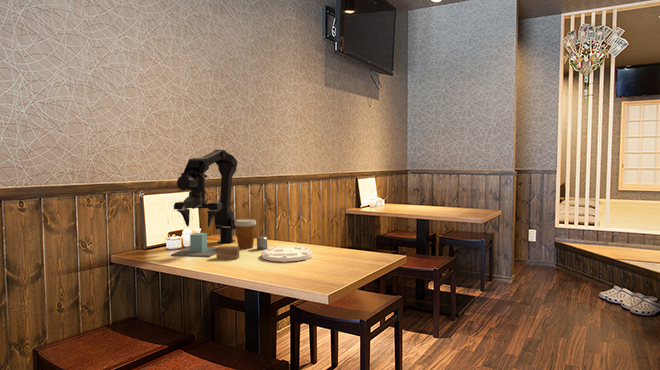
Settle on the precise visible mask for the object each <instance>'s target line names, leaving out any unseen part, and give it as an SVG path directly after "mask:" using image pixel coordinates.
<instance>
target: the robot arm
mask: <svg viewBox="0 0 660 370" xmlns="http://www.w3.org/2000/svg"><path fill="white" fill-rule="evenodd" d="M187 161H188V162H186V163H187V164H186V166H185V167H184V170H183V172H181V173H180V176H179V177H178V178H177V181H176V186H177V188H178V189H179V190H180V191H189V192H188V196H187V197H186V198H184V199H183V201H178V202H177V201H176V202H175V203H174V204H173V210H176V212H179V214H181V216H182V218H183V221H184V223H185V225H186V227H189V226H190V211H191V209H194V210H195V209H208V210H206V211H207V227H208V228H210V227H211V225H212V223H213V221H214V227H215V230H219V240H218V241H217V243H218V244H220V243H221V244H232V243H233V242H235V241H236V239H233V238H234V237H233V233H234V232H233V231H234V230H236V227H235V224H234V223H235V220H236V219H235V217H234V211H233V209H232V207H231V203H232V202H231V201H232V189H233V188H232V186H233V176H234V175H235V173H237V172H236V171H237V167H238V160H237V159H236V157H234V155H232V154H230V153H228V152H227V151H226V150H225V149H214V150H213V151H211V152H209V153H207V154H205V155H203V156H201V157H200V156H199V157H193V158H192V157H191V158H189V159H188V160H187ZM213 164H216V165H217V169H218V172H219V174H220V178H221V180H220V192H219V201H216V202H215V201H212V202H209V203H207V200H206V194H207V190H206V179H207V178H208V174H206V172H207V171H208V170H209V169H210V166H211V165H213Z"/></svg>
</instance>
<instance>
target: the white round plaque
mask: <svg viewBox="0 0 660 370" xmlns="http://www.w3.org/2000/svg"><path fill="white" fill-rule="evenodd" d="M312 256H313V251H312V250H311V248H309V247H306V246H302V245H300V246H299V245H291V246H290V245H283V246H282V245H277V246H276V245H275V246H273V247H272V246H269V247H267V249H266V250H261V258H262V259H264V260H266V261H271V262H283V263H288V262H296V261H297V262H299V261H306V260H310V258H311V257H312Z"/></svg>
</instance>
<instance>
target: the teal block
mask: <svg viewBox="0 0 660 370" xmlns="http://www.w3.org/2000/svg"><path fill="white" fill-rule="evenodd" d="M189 235H190V236H189V242H190V243H189V245H190V252H203V251H205V250H207V247H208V233H207V232H194V233H192V234H189Z"/></svg>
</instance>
